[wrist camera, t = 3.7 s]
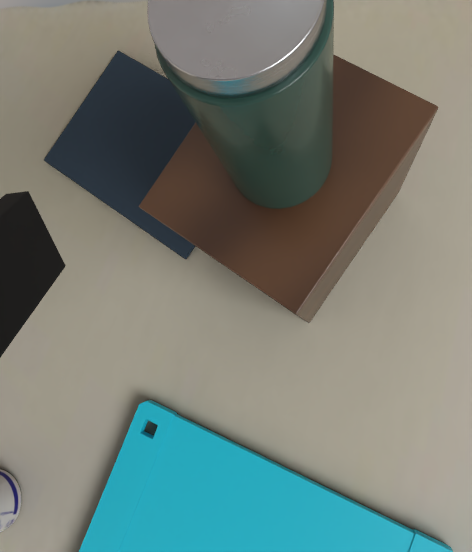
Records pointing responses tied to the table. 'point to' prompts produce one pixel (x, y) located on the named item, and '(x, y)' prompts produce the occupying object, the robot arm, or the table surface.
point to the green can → (255, 87)
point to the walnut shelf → (311, 213)
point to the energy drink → (8, 500)
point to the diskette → (227, 500)
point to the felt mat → (125, 142)
